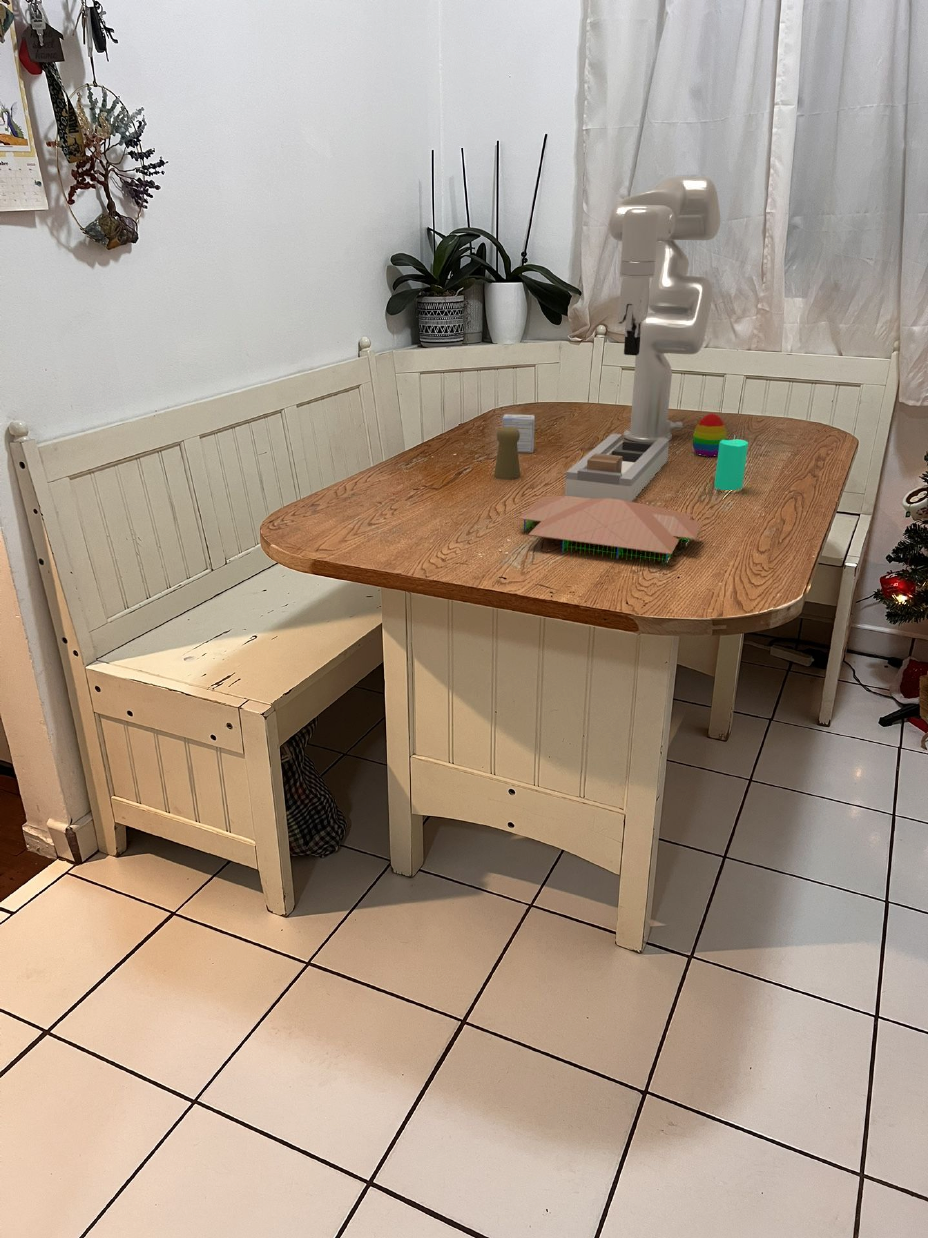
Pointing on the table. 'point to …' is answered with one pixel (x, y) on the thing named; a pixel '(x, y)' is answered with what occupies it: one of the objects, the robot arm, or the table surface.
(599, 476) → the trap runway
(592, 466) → the walnut block
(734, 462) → the candle
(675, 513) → the house
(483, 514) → the table surface
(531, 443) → the medicine box
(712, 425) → the decorative egg
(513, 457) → the olive pawn
